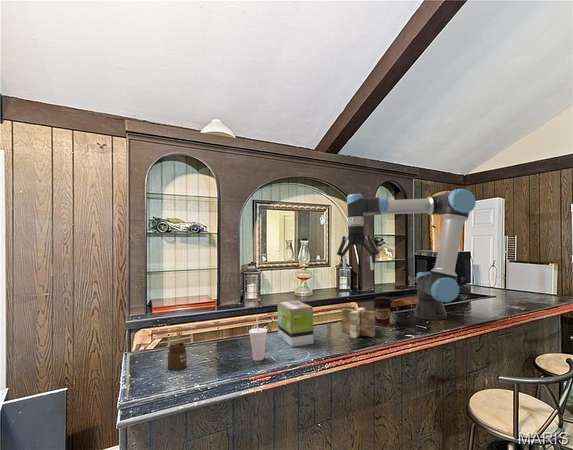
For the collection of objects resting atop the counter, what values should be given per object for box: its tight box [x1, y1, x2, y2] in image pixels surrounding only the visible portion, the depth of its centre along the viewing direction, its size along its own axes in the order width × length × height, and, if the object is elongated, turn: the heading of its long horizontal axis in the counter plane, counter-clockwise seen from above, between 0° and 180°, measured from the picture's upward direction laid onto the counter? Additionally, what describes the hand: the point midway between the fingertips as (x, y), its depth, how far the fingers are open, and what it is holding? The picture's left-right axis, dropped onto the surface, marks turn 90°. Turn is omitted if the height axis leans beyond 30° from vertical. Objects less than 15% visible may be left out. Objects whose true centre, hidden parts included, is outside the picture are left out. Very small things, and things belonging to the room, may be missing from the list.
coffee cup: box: [373, 296, 392, 327], centre depth 151 cm, size 9×8×13 cm
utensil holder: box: [167, 326, 188, 371], centre depth 105 cm, size 6×6×12 cm
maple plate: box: [349, 306, 367, 339], centre depth 138 cm, size 13×2×10 cm, turn 147°
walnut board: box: [341, 308, 376, 338], centre depth 138 cm, size 14×2×10 cm, turn 56°
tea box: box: [277, 300, 315, 348], centre depth 131 cm, size 15×10×15 cm, turn 22°
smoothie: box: [248, 316, 268, 362], centre depth 111 cm, size 6×6×14 cm
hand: (358, 269), depth 154 cm, fingers open, 13 cm apart
